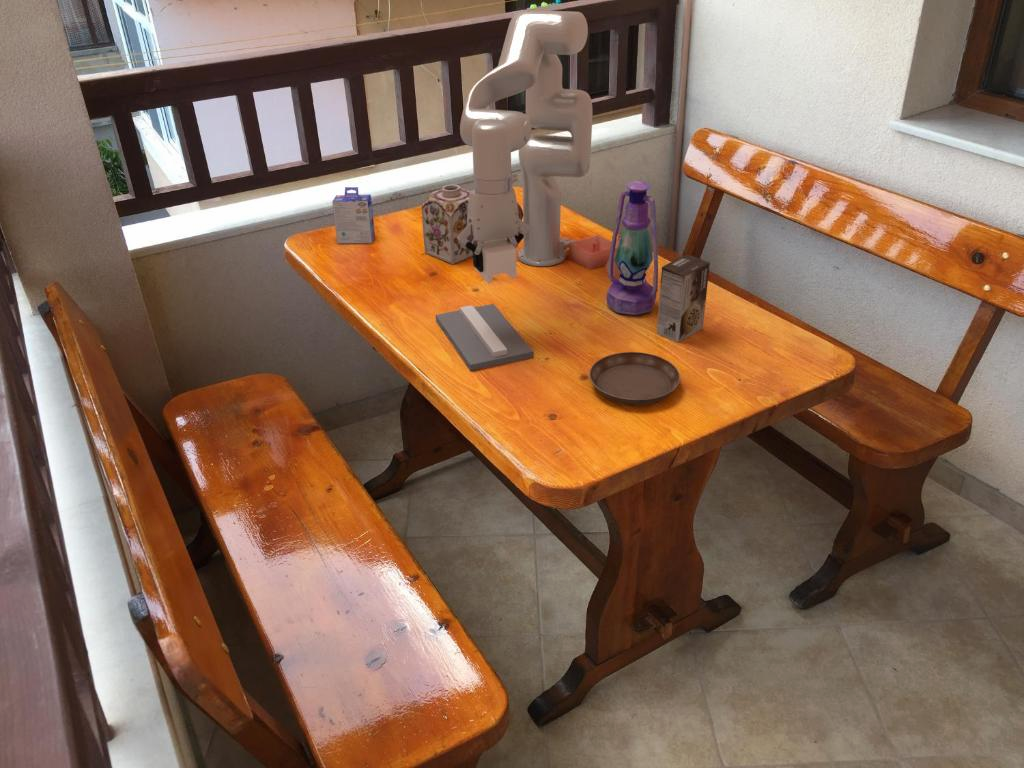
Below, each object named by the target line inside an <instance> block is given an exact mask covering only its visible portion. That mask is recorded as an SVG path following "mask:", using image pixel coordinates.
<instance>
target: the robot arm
mask: <svg viewBox="0 0 1024 768" xmlns="http://www.w3.org/2000/svg"><path fill="white" fill-rule="evenodd" d="M588 28H589V27H588V22H587V19H586V17H585V15H584V14H583V13H582V12H580V11H569V10H567V11H566V10H565V11H563V10H562V11H561V10H543V9H542V10H539V9H538V10H533V9H532V10H522V11H518V12H515V14H513V15H512V17H511V19H510V22H509V25H508V28H507V30H506V35H505V39H504V42H503V46H502V49H501V55H500V57H499V59H498V65H497V66H496V67H494V68H493V69H491V70H490V71H489V72H488V73H486V74H485V75H484V76H482V77H481V78H480V79H479V80H478V81H477V82H476V83H475V84H474V85H473V86H472V87H471V89H470V90H469V92H468V94H467V97H466V99H465V104H464V107H463V110H462V114H461V117H460V118H461V119H460V123H459V131H460V132H459V133H460V137H461V140H462V142H463V143H464V144H465V145H467V146H469V147H471V148H472V167H473V168H472V171H473V189H471V190H469V191H470V195H469V202H468V213H467V226H466V227H465V228H464V229H463V231H462V232H461V233H460V234H459V235H458V237H457V239H458V240H459V241H460V242H461V243H462V244H464V245H465V246H466V247H467V248H468V249H470V250H471V251H472V252H473V256H472V265H473V267H474V269H475V268H476V269H477V270H478V271H479V272H483V255H482V254H481V249H482V247H483V244H484V242H485V241H491V240H497V239H503V238H505V239H506V240H507V241H508V242H510V243H511V244H512V245H513V246H514V247H515V248H516V249H517V248H518V247H519V244H520V243H521V241H522V240H523V245H522V247H520V249H519V250H518V251H517V260H519V262H521V263H523V264H525V265H528V266H533V267H549V266H550V267H551V266H555V265H558V264H560V263H562V262H564V261H565V259H566V257H567V251H566V250H567V249H569V243H570V242H574V241H578V240H577V239H576V238H575V239H570V238H569V237H563V238H562V237H561V219H562V218H561V213H562V211H561V210H562V209H561V205H562V203H561V202H562V198H561V197H562V192H561V189H560V186H559V184H558V182H557V181H556V179H555V178H554V177H558V178H559V177H560V178H583V177H584V176H586V175H587V174H588V172H589V169H590V166H591V165H590V164H591V157H592V155H591V154H592V135H593V134H592V133H593V103H592V98H591V96H590V94H589V93H588V92H587V91H585V90H581V89H574V88H573V89H572V88H570V89H569V88H563V65H562V63H561V60H560V58H559V56H560V55H561V56H562V55H563V56H565V55H566V56H571V55H575V54H577V53H579V52H581V51H582V50H583V49H584V47H585V46H586V42H587V40H588V35H589V34H588V33H589V31H588V30H589V29H588ZM524 91H525V113H523V112H522V111H516V110H506V109H505V110H503V109H492V108H491V109H489V108H488V107H490V106H491V105H492V104H494V103H495V102H498V101H500V100H502V99H506V98H509V97H512V96H514V95H518V94H520V93H522V92H524ZM532 129H535V130H544V131H545V130H546V131H558V132H561V131H562V132H568V133H569V134H570V135H571V136H563V135H562V136H560V135H552V134H551V135H550V134H549V135H547V134H532V133H533V132H532V131H533V130H532ZM516 151H518V161H519V166H520V171H521V172H520V174H521V180H522V211H523V219H522V220H521V219H519V214H518V206H517V203H518V200H517V196H516V192H515V191H516V190H515V188H514V187H513V183H515V182H518V175H517V174H515V175H514V174H512V153H514V152H516ZM469 235H471V236H474V239H473V241H472V243H471V242H470V241H468V240H467V237H468V236H469Z"/></svg>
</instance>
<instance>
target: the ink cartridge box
mask: <svg viewBox="0 0 1024 768" xmlns="http://www.w3.org/2000/svg"><path fill="white" fill-rule="evenodd" d="M348 191H354V192H348ZM331 203H332V211H333V218H334V219H333V220H334V226H335V233H336V234H335V235H336V243H337V244H373V242H374V240H375V239H376V231H375V222H374V221H375V220H374V212H373V202H372V195H371V194H360V193H359V187H357V186H352V187H351V186H347V187H346V186H345V187H344V195H335V196H334V199H332V201H331Z"/></svg>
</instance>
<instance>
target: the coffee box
mask: <svg viewBox="0 0 1024 768" xmlns="http://www.w3.org/2000/svg"><path fill="white" fill-rule="evenodd" d="M710 264H711V263H710V262H709V261H706V260H704V259H701V258H699V257H696V256H693V255H690V254H686V253H685V254H684V255H682V256H680V257H677V258H676V259H675V260H672V261H670V262H669V263H667V264H665V265H663V266H661V275H660V287H659V297H658V298H659V300H658V312H657V323H656V324H657V325H656V334H658V335H659V336H662V337H664V338H667V339H669V340H671V341H673V342H677V343H681V342H683V341H684V340H686V339H688V338H690V337H691V336H692V335H694V334H696V333H697V332H699V331H701V330H702V329H703V328H704V321H705V311H706V303H707V293H708V292H707V291H708V284H709V274H710V272H709V271H710Z"/></svg>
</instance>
